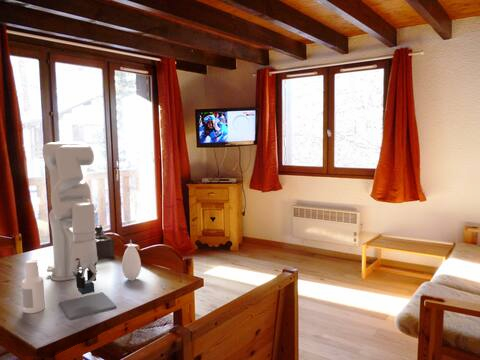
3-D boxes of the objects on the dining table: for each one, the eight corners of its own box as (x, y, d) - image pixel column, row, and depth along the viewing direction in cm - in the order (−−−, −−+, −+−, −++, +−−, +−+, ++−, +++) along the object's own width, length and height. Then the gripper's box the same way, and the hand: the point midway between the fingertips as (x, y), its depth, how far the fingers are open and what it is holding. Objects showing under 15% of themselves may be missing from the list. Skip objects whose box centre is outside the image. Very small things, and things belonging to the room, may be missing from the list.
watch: (99, 290, 143) (98, 261, 142) (76, 296, 138) (74, 266, 137) (95, 286, 148) (93, 258, 147) (73, 291, 143) (70, 262, 142)
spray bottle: (28, 306, 144) (25, 258, 142) (48, 305, 145) (45, 258, 143) (20, 314, 137) (16, 264, 135) (40, 313, 138) (37, 264, 136)
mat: (69, 319, 133) (69, 317, 133) (59, 304, 146) (59, 302, 146) (116, 307, 142) (116, 305, 142) (102, 293, 155) (102, 291, 155)
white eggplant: (136, 283, 166) (134, 242, 164) (119, 282, 168) (117, 241, 166) (144, 277, 174) (143, 237, 172) (128, 276, 175) (126, 236, 174)
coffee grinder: (86, 256, 206) (84, 222, 204) (107, 252, 213) (105, 219, 211) (97, 263, 194) (95, 227, 192) (118, 258, 201) (117, 224, 199)
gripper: (87, 230, 150) (89, 275, 152) (60, 242, 133) (63, 292, 135) (105, 231, 149) (107, 276, 151) (80, 243, 132) (83, 294, 134)
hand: (86, 283), depth 143 cm, fingers closed on watch, 6 cm apart
